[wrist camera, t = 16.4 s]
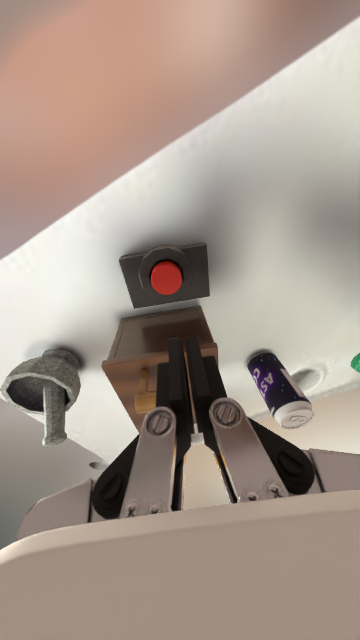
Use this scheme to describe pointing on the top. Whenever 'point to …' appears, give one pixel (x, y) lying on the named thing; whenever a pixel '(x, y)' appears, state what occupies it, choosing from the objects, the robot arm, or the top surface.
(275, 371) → the beverage can
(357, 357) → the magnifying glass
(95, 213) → the top surface
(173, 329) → the brown open box
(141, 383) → the wooden box lid
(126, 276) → the control block
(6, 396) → the mortar and pestle
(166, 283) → the button
